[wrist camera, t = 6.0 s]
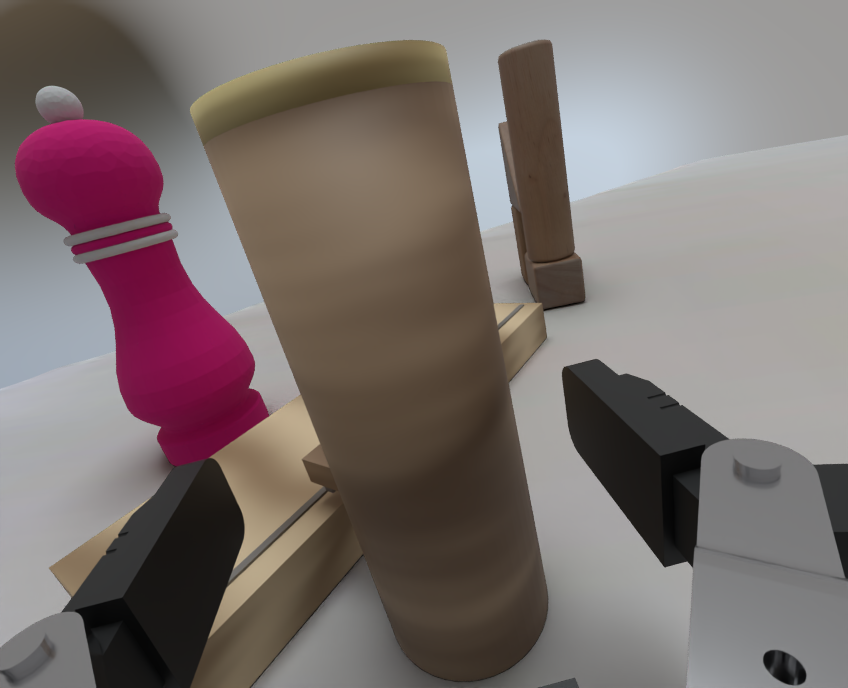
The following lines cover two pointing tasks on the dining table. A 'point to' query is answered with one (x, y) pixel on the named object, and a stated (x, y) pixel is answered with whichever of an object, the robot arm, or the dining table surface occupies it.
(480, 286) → the wooden cylinder yellow top
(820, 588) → the robot arm
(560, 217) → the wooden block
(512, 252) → the dining table surface
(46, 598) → the dining table surface
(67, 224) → the pepper mill
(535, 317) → the board
